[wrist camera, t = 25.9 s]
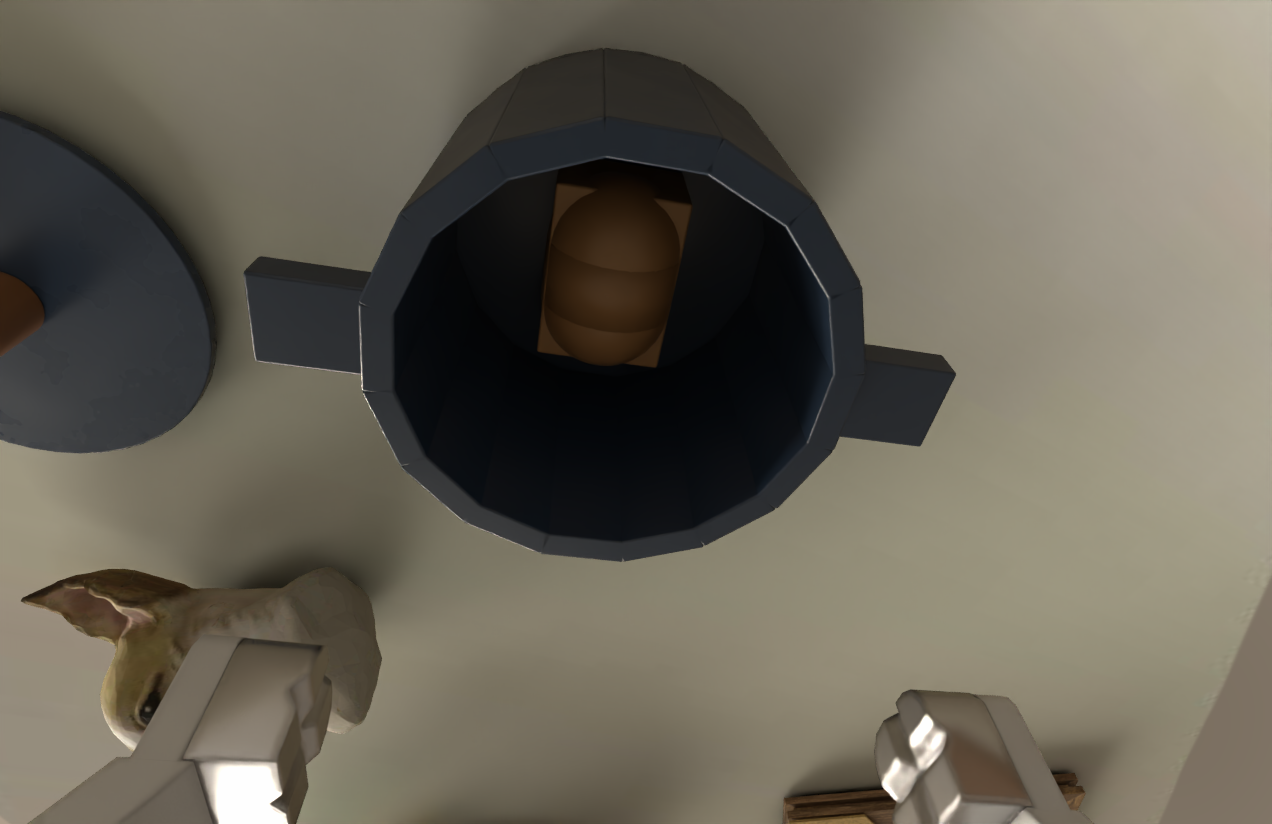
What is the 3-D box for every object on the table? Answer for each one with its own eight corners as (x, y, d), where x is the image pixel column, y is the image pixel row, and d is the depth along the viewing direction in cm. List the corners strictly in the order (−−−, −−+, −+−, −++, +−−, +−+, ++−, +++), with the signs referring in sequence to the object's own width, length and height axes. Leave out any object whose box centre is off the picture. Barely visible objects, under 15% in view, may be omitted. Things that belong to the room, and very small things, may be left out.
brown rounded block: (559, 141, 23) (550, 185, 19) (688, 164, 24) (704, 210, 20) (539, 316, 26) (529, 381, 23) (652, 331, 27) (660, 398, 23)
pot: (346, -6, 21) (193, 41, 13) (909, 104, 23) (1066, 199, 15) (359, 352, 28) (263, 527, 20) (797, 410, 30) (866, 587, 22)
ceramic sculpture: (396, 831, 30) (73, 853, 32) (445, 656, 37) (179, 681, 39) (282, 674, 24) (-106, 711, 26) (367, 501, 31) (58, 539, 33)
